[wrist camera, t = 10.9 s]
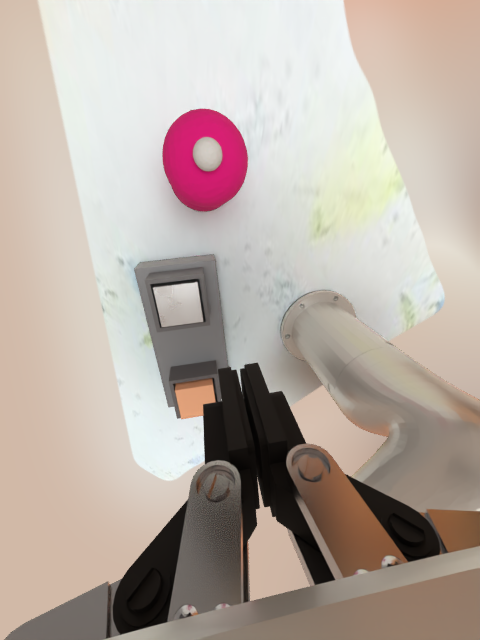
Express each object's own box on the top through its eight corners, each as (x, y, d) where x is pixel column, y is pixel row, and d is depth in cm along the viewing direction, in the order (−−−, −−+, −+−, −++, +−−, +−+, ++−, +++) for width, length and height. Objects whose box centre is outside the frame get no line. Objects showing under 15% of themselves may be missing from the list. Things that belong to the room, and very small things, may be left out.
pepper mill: (191, 220, 35) (187, 240, 17) (160, 164, 32) (113, 114, 14) (240, 193, 35) (288, 183, 17) (212, 133, 32) (234, 41, 14)
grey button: (202, 312, 35) (203, 321, 33) (164, 317, 35) (161, 327, 32) (197, 275, 33) (197, 282, 30) (156, 280, 33) (152, 287, 30)
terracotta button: (215, 398, 40) (217, 413, 38) (182, 404, 40) (181, 419, 37) (211, 371, 38) (212, 384, 36) (176, 377, 38) (174, 390, 35)
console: (228, 381, 46) (234, 412, 40) (170, 390, 45) (166, 424, 39) (213, 254, 37) (217, 265, 30) (140, 262, 36) (127, 276, 29)
